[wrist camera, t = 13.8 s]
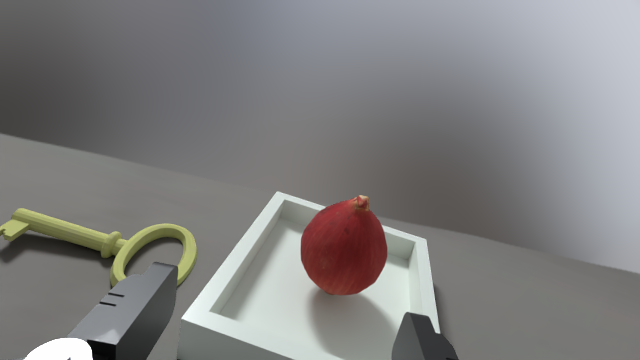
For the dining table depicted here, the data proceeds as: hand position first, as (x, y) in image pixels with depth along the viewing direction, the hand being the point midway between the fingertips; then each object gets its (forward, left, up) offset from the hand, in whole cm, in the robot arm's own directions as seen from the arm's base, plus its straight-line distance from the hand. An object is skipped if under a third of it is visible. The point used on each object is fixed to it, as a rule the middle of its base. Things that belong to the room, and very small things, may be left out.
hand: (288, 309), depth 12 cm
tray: (+2, +11, -9) cm, 14 cm away
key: (-14, +9, -10) cm, 19 cm away
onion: (+2, +11, -8) cm, 14 cm away
